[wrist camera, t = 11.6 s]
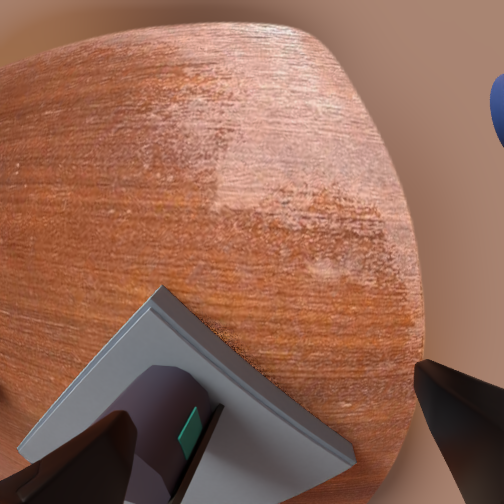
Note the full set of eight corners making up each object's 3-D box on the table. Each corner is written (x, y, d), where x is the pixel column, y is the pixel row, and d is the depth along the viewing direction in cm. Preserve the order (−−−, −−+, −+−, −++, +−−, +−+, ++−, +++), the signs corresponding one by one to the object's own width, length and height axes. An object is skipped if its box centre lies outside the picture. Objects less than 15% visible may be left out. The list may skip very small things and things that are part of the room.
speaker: (249, 418, 20) (216, 541, 10) (193, 444, 21) (147, 547, 11) (173, 340, 20) (87, 445, 10) (124, 377, 21) (43, 466, 11)
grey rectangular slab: (162, 284, 21) (148, 300, 19) (351, 443, 25) (358, 466, 22) (25, 437, 28) (14, 450, 25) (155, 527, 31) (151, 542, 28)
